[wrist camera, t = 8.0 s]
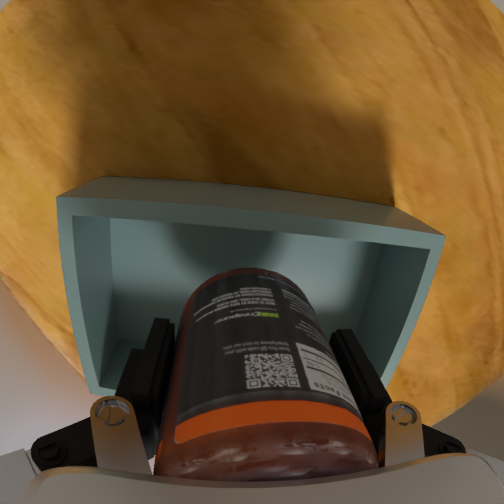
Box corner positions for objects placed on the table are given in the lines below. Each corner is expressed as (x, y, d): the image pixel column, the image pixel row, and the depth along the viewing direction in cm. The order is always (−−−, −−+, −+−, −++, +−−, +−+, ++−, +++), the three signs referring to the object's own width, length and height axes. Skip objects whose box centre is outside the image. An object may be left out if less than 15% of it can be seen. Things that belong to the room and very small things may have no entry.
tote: (103, 176, 15) (56, 196, 10) (395, 206, 16) (445, 235, 12) (113, 339, 18) (89, 393, 14) (351, 354, 20) (376, 406, 15)
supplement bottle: (222, 384, 15) (227, 596, 5) (156, 298, 13) (77, 562, 3) (329, 339, 15) (416, 554, 4) (279, 236, 13) (405, 537, 2)
